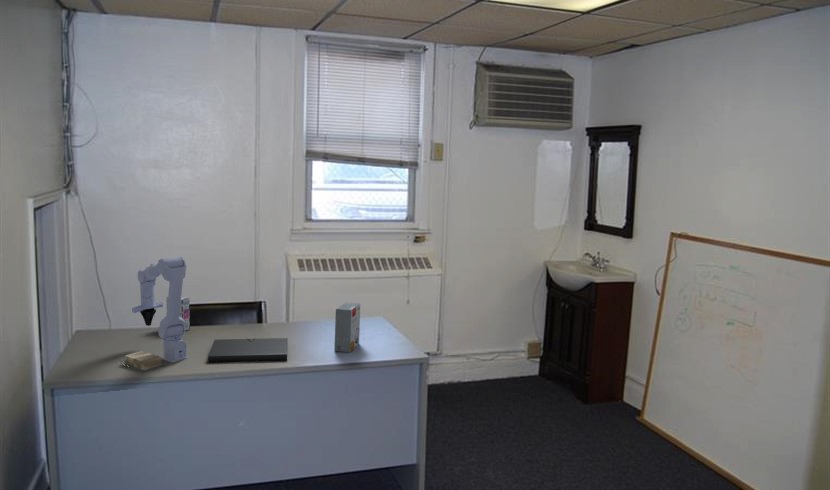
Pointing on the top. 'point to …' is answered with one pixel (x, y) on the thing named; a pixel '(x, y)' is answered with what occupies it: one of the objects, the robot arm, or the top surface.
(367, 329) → the top surface
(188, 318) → the candy bar box
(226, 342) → the closed laptop
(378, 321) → the top surface
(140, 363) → the maple block
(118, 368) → the top surface
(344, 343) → the hard drive box
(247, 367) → the top surface
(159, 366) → the mat
